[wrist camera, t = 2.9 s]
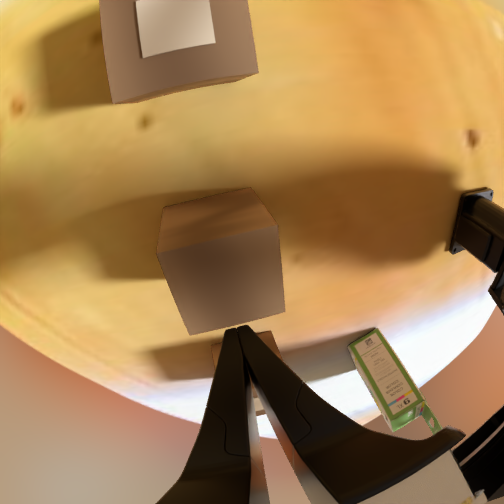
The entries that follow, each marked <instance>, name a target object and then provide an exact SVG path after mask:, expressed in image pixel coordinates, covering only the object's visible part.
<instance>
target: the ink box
mask: <svg viewBox="0 0 504 504" xmlns="http://www.w3.org/2000/svg"><path fill="white" fill-rule="evenodd" d="M348 350H349V352H350V355H351V357H352V359H353V362H354V364H355V366H356V369H357V371H358V372H359V374H360V376H361V378H362V379H363V381H364V383H365V385H366V386H367V388H368V390H369V392H370V393H371V395H372V397H373V399H374V401H375V402H376V404H377V406H378V408H379V410H380V411H381V413H382V415H383V417H384V419H385V420H386V422H387V424H388V426H389V427H390V429H391V431H392V432H394V431H396V430H398V429H400V428H401V427H403V426H405V425H406V424H408V423H410V422H411V421H413V420H414V419H416V418H417V417H418V416H420V415H422V416H423V418H424V419H425V421H426V423H427V424H428V426H429V427H430V429H431V431H432V433H433V435H434V434H435V433H437V432H438V431H440V430H441V429H443V428H442V426H441V424H440V423H439V421H438V420H437V418H436V417H435V415H434V414H433V412H432V410H431V408H430V407H429V405H428V404H427V402H426V399H425V397H424V396H423V394H422V392H421V391H420V390H419V389H418V387H417V386H416V384H415V383H414V381H413V379H412V378H411V376H410V375H409V373H408V371H407V370H406V368H405V367H404V365H403V364H402V362H401V361H400V359H399V358H398V356H397V355H396V353H395V352H394V350H393V349H392V347H391V346H390V344H389V343H388V341H387V340H386V338H385V337H384V335H383V334H382V333H381V331H380V330H379V328H376V329H375V330H373V331H371V332H370V333H369V334H367V335H365V336H364V337H362V338H360V339H358V340H356V341H354V342H353V343H351V344H350V345H349V346H348ZM431 417H432V418H433V420H434V428H433V427H432V426H431V424H430V422H429V421H430V419H431Z"/></svg>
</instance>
